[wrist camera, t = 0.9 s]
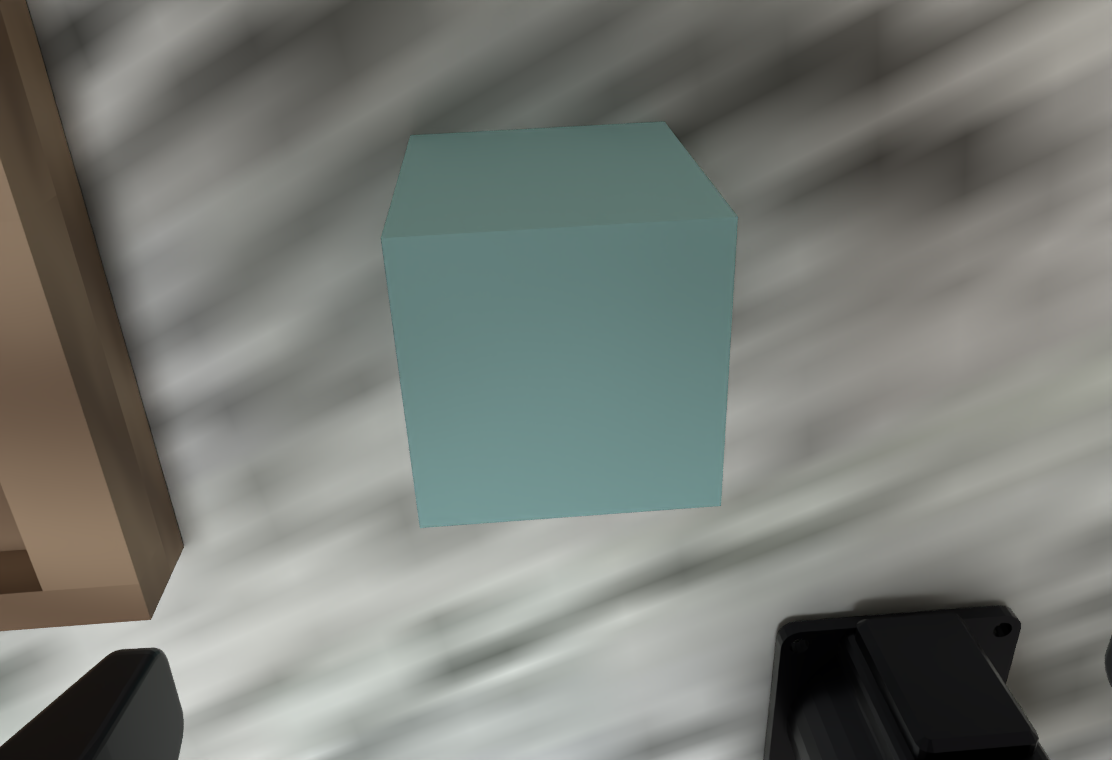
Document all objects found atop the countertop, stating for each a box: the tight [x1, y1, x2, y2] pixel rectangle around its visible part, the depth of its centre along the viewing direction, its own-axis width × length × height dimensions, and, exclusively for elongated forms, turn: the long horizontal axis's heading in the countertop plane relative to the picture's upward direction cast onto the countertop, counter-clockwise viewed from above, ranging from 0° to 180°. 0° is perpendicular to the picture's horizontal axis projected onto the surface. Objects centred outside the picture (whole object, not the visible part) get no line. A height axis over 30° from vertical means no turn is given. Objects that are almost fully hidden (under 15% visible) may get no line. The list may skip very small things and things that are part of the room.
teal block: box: [381, 121, 738, 528], centre depth 17 cm, size 5×5×6 cm
